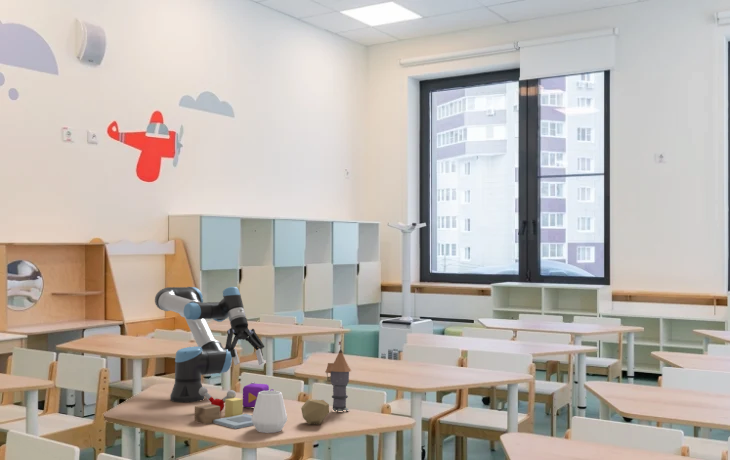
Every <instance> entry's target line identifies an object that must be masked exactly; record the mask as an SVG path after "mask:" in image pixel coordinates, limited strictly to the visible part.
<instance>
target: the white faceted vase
mask: <svg viewBox="0 0 730 460" xmlns="http://www.w3.org/2000/svg"><path fill="white" fill-rule="evenodd" d="M251 420H252V423H253V424H254V425H253V426H254V428H255V430H256V431H257V432H259V433H264V434H265V433H266V434H273V433H279V432H281V431H282V430H283V428H284V426H285V425H286V423H287V421H288V415H287V409H286V405H285V401H284V397H283V393H282V392H281V391H279V390H274V391H270V390H269V391H261V392H259V393H258V396H257V400H256V404H255V407H254V408H253V411H252V419H251Z"/></svg>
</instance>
